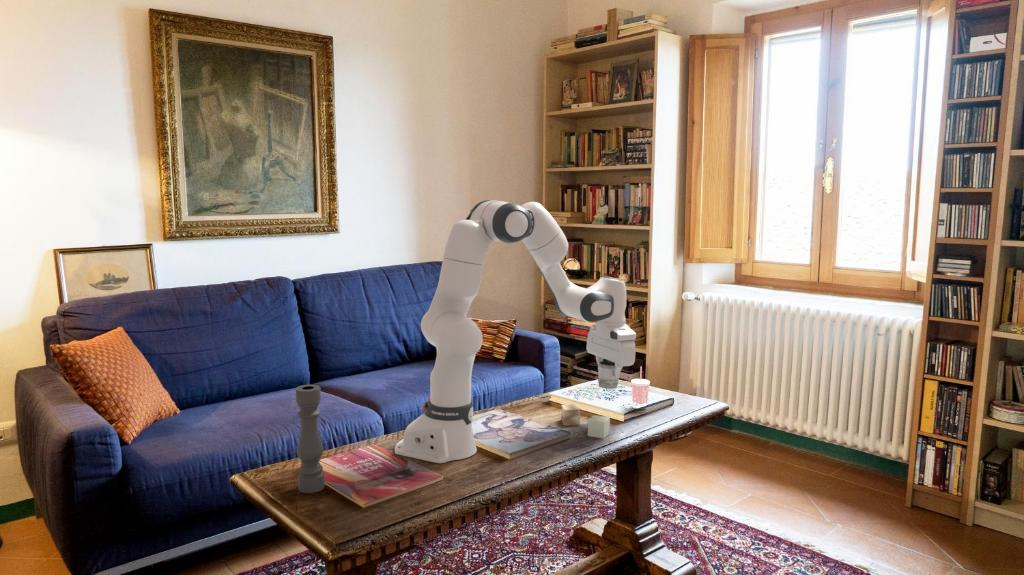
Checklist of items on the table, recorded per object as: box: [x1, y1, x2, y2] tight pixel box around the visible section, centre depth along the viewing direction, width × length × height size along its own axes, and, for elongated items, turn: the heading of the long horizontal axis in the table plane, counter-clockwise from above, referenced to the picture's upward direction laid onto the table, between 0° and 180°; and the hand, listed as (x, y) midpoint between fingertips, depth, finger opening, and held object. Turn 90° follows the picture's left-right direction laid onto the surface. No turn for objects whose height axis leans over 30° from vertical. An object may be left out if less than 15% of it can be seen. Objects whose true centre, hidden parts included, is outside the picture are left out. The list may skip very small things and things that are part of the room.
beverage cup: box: [630, 366, 651, 404], centre depth 237 cm, size 6×6×14 cm
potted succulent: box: [597, 359, 620, 390], centre depth 222 cm, size 6×6×8 cm
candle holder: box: [295, 384, 326, 494], centre depth 173 cm, size 6×6×25 cm
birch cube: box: [560, 403, 581, 426], centre depth 223 cm, size 5×5×5 cm
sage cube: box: [587, 414, 611, 439], centre depth 213 cm, size 5×5×5 cm
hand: (608, 373), depth 222 cm, fingers closed on potted succulent, 6 cm apart
